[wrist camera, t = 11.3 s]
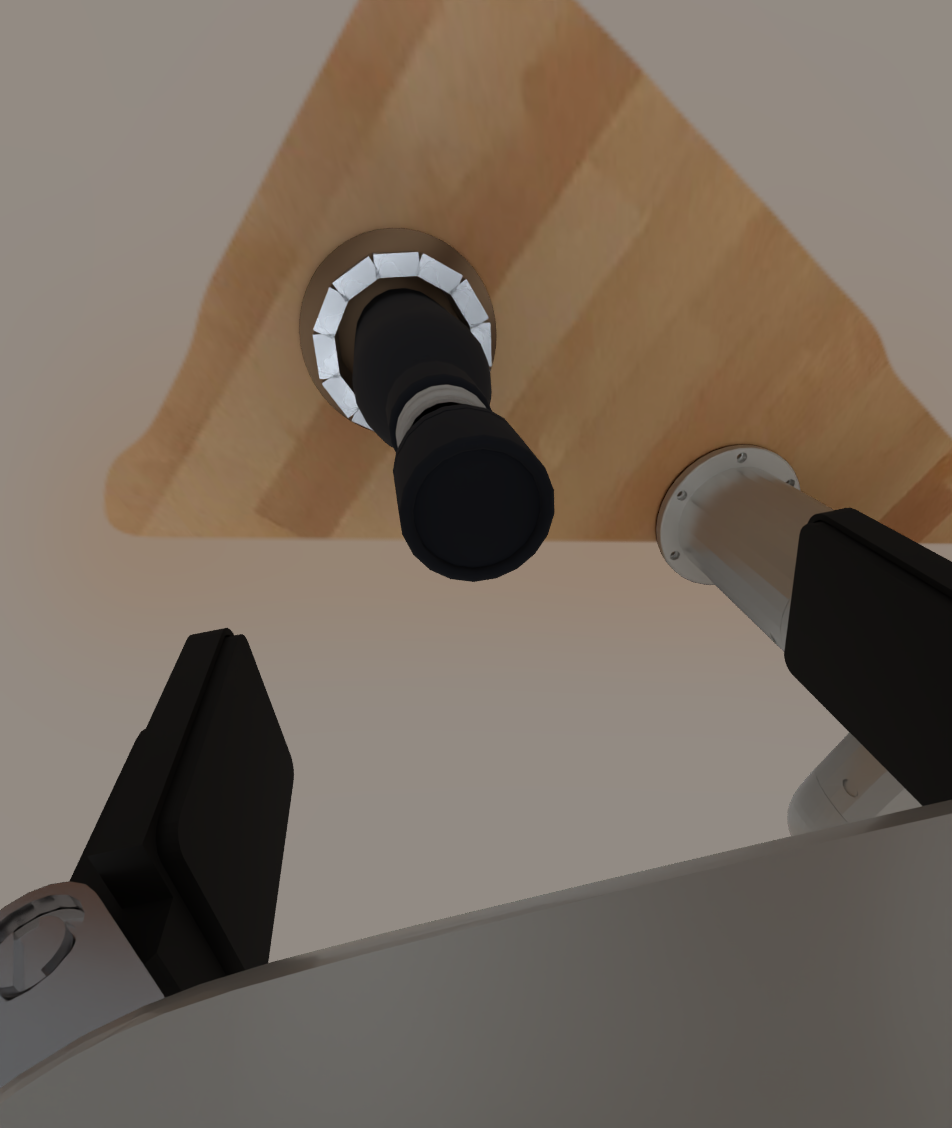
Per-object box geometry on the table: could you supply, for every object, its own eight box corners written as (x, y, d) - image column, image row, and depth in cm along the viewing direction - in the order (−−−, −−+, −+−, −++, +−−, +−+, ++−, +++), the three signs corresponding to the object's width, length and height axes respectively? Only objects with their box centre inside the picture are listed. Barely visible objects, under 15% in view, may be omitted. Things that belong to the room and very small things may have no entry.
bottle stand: (525, 290, 42) (550, 298, 37) (442, 457, 47) (453, 487, 41) (345, 186, 38) (342, 176, 32) (273, 381, 42) (259, 403, 37)
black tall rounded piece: (454, 290, 40) (628, 384, 14) (449, 390, 43) (585, 622, 17) (354, 284, 39) (339, 372, 13) (355, 387, 42) (347, 629, 16)
